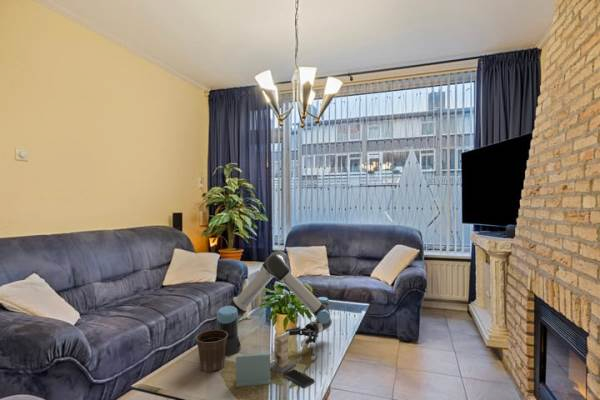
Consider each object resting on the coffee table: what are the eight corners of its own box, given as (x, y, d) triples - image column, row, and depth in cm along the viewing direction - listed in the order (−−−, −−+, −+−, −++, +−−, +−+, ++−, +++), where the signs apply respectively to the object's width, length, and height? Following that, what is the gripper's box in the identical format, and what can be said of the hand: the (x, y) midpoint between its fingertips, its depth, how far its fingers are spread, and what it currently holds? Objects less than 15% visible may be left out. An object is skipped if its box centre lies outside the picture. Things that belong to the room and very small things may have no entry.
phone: (304, 386, 158) (282, 374, 169) (304, 389, 158) (282, 376, 169) (315, 380, 164) (294, 368, 174) (315, 382, 164) (294, 370, 174)
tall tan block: (274, 365, 178) (274, 338, 177) (280, 361, 182) (280, 335, 182) (281, 368, 175) (281, 340, 174) (288, 364, 179) (288, 337, 179)
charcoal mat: (266, 367, 177) (266, 365, 177) (279, 359, 186) (279, 357, 186) (282, 374, 171) (282, 372, 171) (296, 365, 179) (296, 363, 179)
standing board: (236, 380, 165) (236, 353, 165) (269, 378, 167) (269, 351, 167) (235, 386, 160) (235, 358, 160) (270, 383, 162) (270, 356, 162)
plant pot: (190, 373, 171) (190, 341, 171) (203, 358, 187) (203, 328, 187) (221, 375, 169) (221, 343, 169) (232, 360, 185) (232, 330, 185)
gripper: (331, 340, 194) (310, 354, 177) (296, 329, 209) (273, 341, 192) (331, 327, 194) (310, 339, 177) (296, 317, 209) (273, 328, 192)
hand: (291, 340), depth 184 cm, fingers open, 13 cm apart
